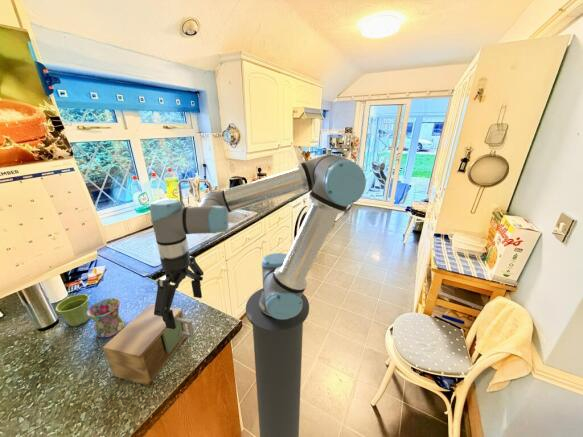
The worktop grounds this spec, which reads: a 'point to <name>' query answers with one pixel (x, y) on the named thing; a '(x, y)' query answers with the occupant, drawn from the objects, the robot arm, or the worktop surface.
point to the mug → (106, 317)
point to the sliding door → (177, 333)
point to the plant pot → (74, 309)
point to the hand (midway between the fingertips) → (185, 311)
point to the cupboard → (141, 347)
